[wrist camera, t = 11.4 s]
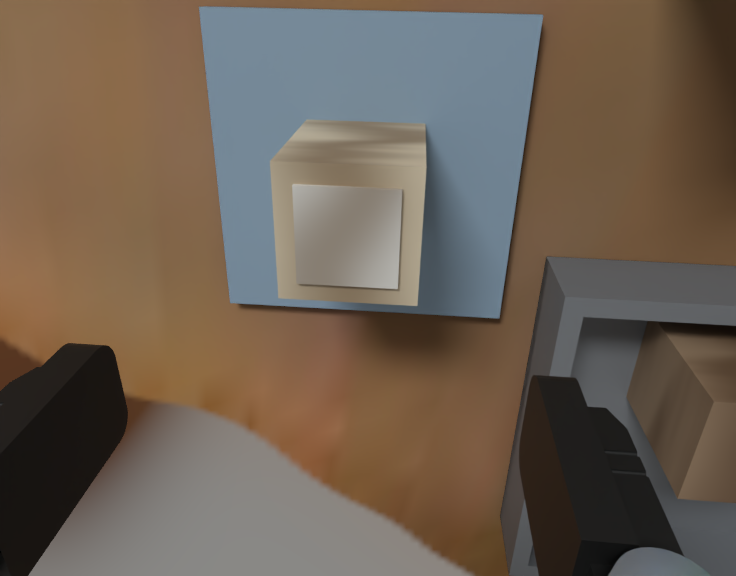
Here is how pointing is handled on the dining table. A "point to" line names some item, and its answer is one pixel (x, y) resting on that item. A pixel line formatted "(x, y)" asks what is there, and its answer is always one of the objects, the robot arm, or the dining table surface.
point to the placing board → (376, 104)
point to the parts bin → (621, 379)
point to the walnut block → (689, 406)
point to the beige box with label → (350, 211)
